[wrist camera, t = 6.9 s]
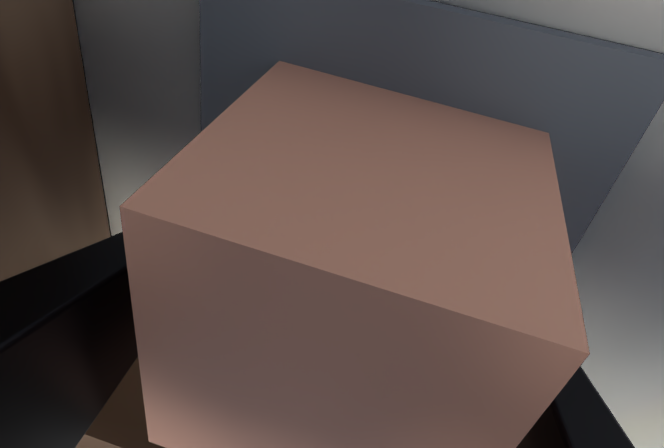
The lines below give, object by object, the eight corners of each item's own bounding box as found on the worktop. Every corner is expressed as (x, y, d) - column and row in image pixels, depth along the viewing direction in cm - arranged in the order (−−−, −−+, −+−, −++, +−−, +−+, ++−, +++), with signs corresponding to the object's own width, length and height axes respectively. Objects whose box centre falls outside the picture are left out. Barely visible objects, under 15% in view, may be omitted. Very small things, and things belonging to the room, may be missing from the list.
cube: (548, 132, 9) (589, 353, 5) (457, 320, 12) (437, 547, 8) (279, 60, 9) (120, 206, 5) (259, 257, 12) (148, 441, 8)
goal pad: (498, 363, 13) (498, 375, 12) (209, 273, 14) (203, 282, 13) (677, 57, 8) (684, 65, 8) (209, -51, 9) (199, -47, 9)
